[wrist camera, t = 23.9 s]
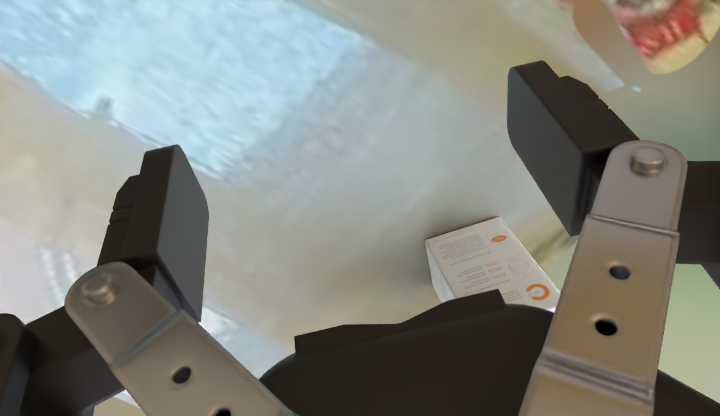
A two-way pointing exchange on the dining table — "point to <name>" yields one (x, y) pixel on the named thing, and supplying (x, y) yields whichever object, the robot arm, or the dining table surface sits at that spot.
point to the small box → (488, 266)
